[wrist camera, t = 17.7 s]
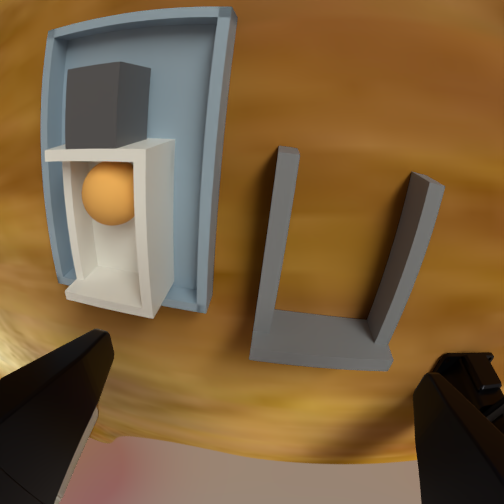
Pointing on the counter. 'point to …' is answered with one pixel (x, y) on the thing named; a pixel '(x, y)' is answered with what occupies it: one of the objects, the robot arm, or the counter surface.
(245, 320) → the counter surface
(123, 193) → the ball
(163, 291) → the white open-front box
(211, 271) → the tray
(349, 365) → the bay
